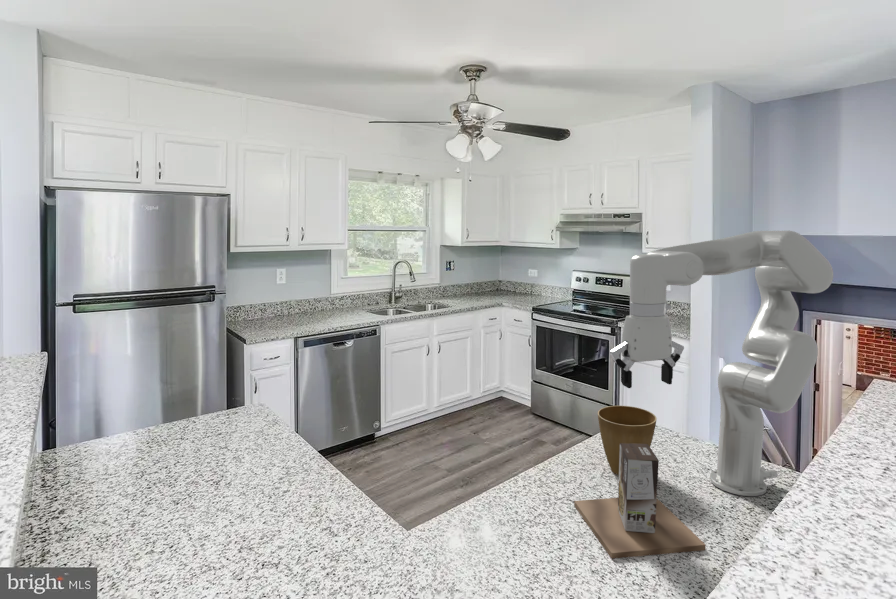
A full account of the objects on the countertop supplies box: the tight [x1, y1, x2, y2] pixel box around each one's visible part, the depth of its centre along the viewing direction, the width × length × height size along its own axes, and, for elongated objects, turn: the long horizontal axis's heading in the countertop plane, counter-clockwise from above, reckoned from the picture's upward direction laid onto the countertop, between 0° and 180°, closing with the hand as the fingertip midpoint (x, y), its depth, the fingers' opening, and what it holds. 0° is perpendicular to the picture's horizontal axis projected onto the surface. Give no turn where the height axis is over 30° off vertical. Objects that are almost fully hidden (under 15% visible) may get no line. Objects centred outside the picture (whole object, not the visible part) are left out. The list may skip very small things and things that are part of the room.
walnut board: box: [573, 497, 707, 560], centre depth 111 cm, size 20×20×1 cm
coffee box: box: [617, 443, 660, 533], centre depth 110 cm, size 9×6×16 cm
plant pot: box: [597, 405, 658, 476], centre depth 136 cm, size 15×15×16 cm
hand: (646, 384), depth 114 cm, fingers open, 9 cm apart
